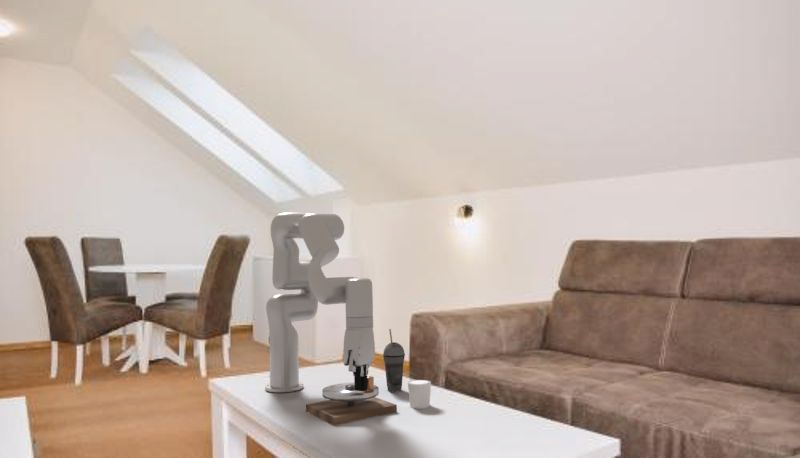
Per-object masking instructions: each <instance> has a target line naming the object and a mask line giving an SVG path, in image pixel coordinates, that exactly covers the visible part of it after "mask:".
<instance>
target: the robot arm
mask: <svg viewBox="0 0 800 458" xmlns="http://www.w3.org/2000/svg"><path fill="white" fill-rule="evenodd" d="M344 224H345V223H344V221H343V220H342V218H341V216H339V215H338V214H336V213H323V212H322V213H319V212H318V213H317V212H314V213H313V212H312V213H311V212H282V213H279V214H276V215H275V216H274V217H273V219H272V220H271V224H270V237H271V242H272V247H273V254H272V255H273V259H272V274H271V275H272V285H273V287H274V288H275V289H276V290H279V291H298V290H299V291H300V293H299V292H297V293H292V292H291V293H279V294H276V295H272V296H271V297H270V298H269V299H268V300H267V301H266V305H265V310H266V316H267V322H268V323H267V324H268V330H269V331H268V332H269V333H268V335H269V383H268V384H266V385H265V387H264V389H265V391H267V392H270V393H279V394H280V393H281V394H282V393H291V392H296V391H301V390H302V389H304V382H302V381H300V376H299V374H300V373H299V372H300V371H299V369H300V368H299V364H300V363H299V360H300V359H299V334H298V332H297V330H296V328H295V327H294V325H293V324H292V323H294V322H302V321H309V320H313V319H314V318H315V317H316V315H317V313H318V306H319V303H320V304H322V305H327V306H328V305H338V304H345V331H344V337H343V350H342V351H343V353H342V355H343V359H342V362H343V365H344V366H346V367H347V366H348V371H349V372H352V376H353V378H354V379H353V380H354V382H353V383H355V390H356V391H365V390H367V389H368V388H367V376H368V375H369V368H370V367H371V366H372V365H373V361H375V357H376V346H375V333H374V303H373V301H374V300H373V298H374V297H373V296H374V295H373V281H372V280H371V279H370V278H367V277H356V276H355V277H354V276H340V277H326V276H325V273H324V271H323V269H322V268H324V266H326V265H328V264H331V262H333V261H334V260H336V258H337V257H338V255H339V252H340V248H339V245H338V243H337V242H336V241H337V240H340V239H341V238H342V237H343V235H344V233H345V225H344ZM295 239H303V241H304V243H305V246H306V247H307V250H308V252H309V254H310V255H311V260H310V261H300V249H299V245H298V244H297V242H296V240H295Z"/></svg>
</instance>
